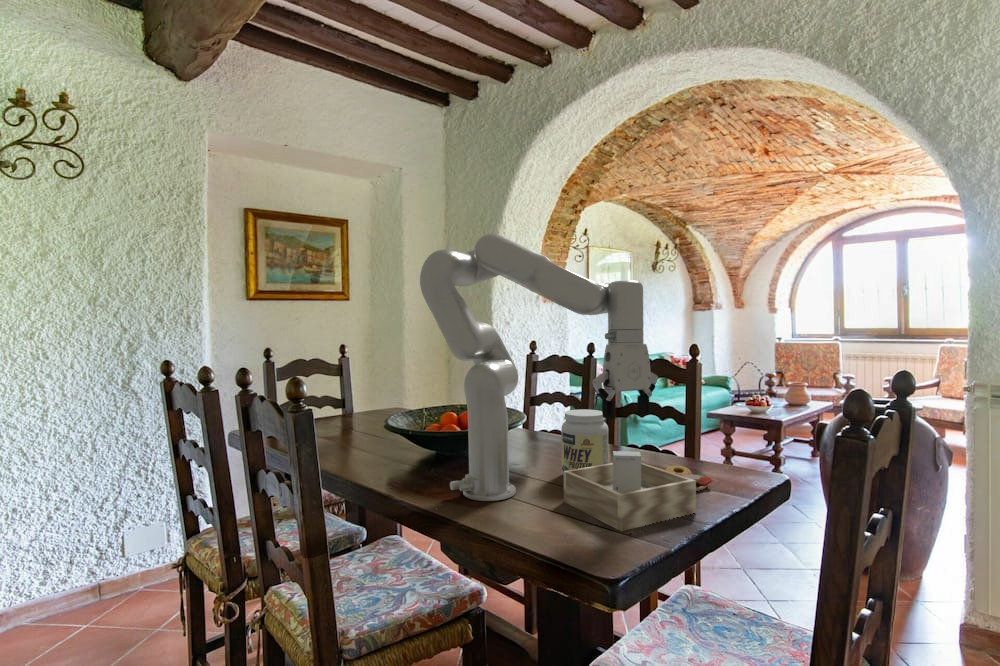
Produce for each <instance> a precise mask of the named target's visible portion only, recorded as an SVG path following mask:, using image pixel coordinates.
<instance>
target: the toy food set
mask: <svg viewBox="0 0 1000 666" xmlns="http://www.w3.org/2000/svg"><path fill="white" fill-rule="evenodd" d="M664 470H666V471H669V472H672V473H675V474H678V475H681V476H684V477H687V478H690V479H693V480H696V491H698V492H701V491H700V490H702V491H704V490H705V489H706V488H708V485H710V484H711V483H712V478H711V477H708V476H706V474H704V473H696V474H693V473H692V471H691V469H690V468H688V467H686V466H683V465H671V466H667V467H666V468H665V469H664ZM703 489H704V490H703Z"/></svg>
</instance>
